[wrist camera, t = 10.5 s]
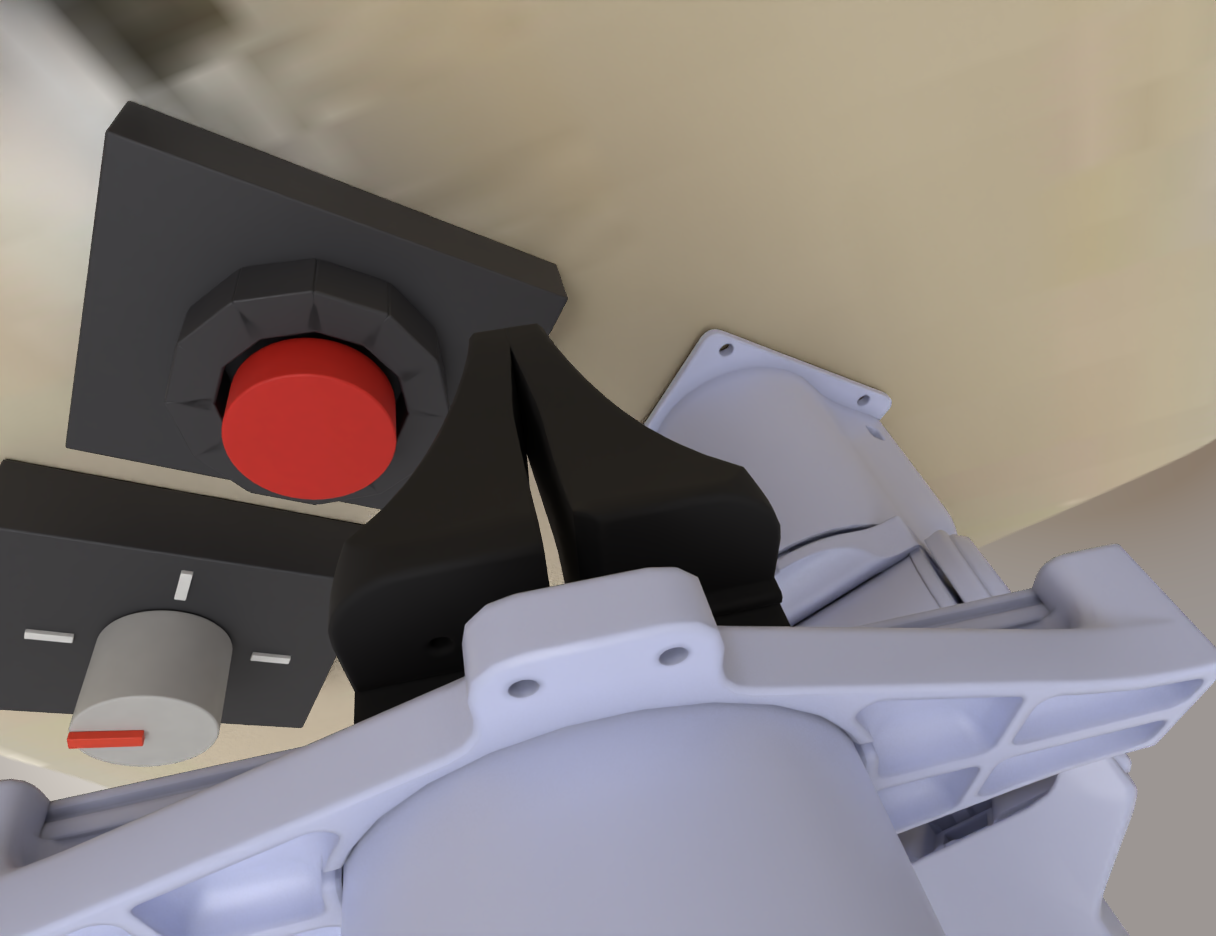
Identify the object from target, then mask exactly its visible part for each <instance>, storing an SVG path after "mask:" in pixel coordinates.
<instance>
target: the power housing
mask: <svg viewBox="0 0 1216 936" xmlns="http://www.w3.org/2000/svg"><path fill="white" fill-rule="evenodd" d="M567 300H568V297H567V294H566V292H565V289H564V286H563V283H562V280H561V277H560V274H559V272H558V269H557V266H556V265H555V264H553V263H550V262H548V261H545V260H542V259H540V258H537V257H535V256H532V255H529V254H527V253H524V252H522V251H519V250H516V249H514V248H511V247H509V246H506V245H503V244H501V243H498V242H496V241H493V240H490V239H488V238H485V237H483V236H480V235H477V234H475V233H472V232H469V231H467V230H464V229H462V228H459V227H456V226H454V225H451V224H449V223H446V222H443V221H441V220H438V219H436V218H433V217H430V216H428V215H425V214H423V213H420V212H417V211H415V210H412V209H410V208H407V207H404V206H402V205H399V204H396V203H394V202H391V201H389V200H386V199H383V198H381V197H378V196H376V195H373V194H370V193H368V192H365V191H363V190H360V189H357V188H355V187H352V186H350V185H347V184H344V183H342V182H339V181H337V180H334V179H331V178H329V177H326V176H323V175H321V174H318V173H316V172H313V171H310V170H308V169H305V168H303V167H300V166H297V165H295V164H292V163H290V162H287V161H284V160H282V159H279V158H277V157H274V156H271V155H269V154H266V153H263V152H261V151H258V150H256V149H253V148H250V147H248V146H245V145H243V144H240V143H237V142H235V141H232V140H230V139H227V138H224V137H222V136H219V135H217V134H214V133H211V132H209V131H206V130H204V129H201V128H198V127H196V126H193V125H190V124H188V123H185V122H183V121H180V120H177V119H175V118H172V117H170V116H167V115H164V114H162V113H159V112H157V111H154V110H151V109H149V108H146V107H144V106H141V105H138V104H136V103H133V102H131V101H128V102H127V103H126V104H125V106H124V107H123V109H122V110H121V111H120V113H119V114H118V115H117V117H116V118H115V120H114V121H113V122H112V124H111V125H110V127H109V128H108V129H107V131H106V133H105V140H104V148H103V156H102V164H101V172H100V179H99V187H98V195H97V203H96V211H95V219H94V226H93V234H92V242H91V250H90V258H89V266H88V273H87V281H86V289H85V297H84V305H83V312H82V320H81V328H80V336H79V344H78V352H77V359H76V367H75V375H74V383H73V391H72V399H71V406H70V414H69V422H68V430H67V438H66V448H70V449H75V450H80V451H85V452H90V453H95V454H100V455H105V456H110V457H116V458H121V459H126V460H131V461H136V462H141V463H146V464H151V465H156V466H161V467H167V468H172V469H177V470H182V471H187V472H192V473H197V474H202V475H207V476H213V477H218V478H223V479H228V480H231V481H233V482H234V483H236V484H237V485H239V486H241V487H242V488H244V489H245V490H247V491H250V492H251V493H255V494H260V495H266V496H271V497H276V498H281V499H287V500H292V501H297V502H302V503H308V504H313V505H316V504H324V503H330V502H336V501H340V502H345V503H351V504H356V505H361V506H366V507H371V508H376V509H381V510H382V509H383V508H384V507H385V506H386V504H387V503H388V502H389V501H390V500H391V499H392V498H393V497H394V496H395V494H396V493H397V492H398V491H399V490H400V489H401V488H402V487H403V485H404V484H405V483H406V482H407V480H408V479H409V478H410V476H411V475H412V474H413V472H414V471H415V469H416V468H417V466H418V465H419V464H420V462H421V461H422V459H423V458H424V456H425V455H426V453H427V452H428V450H429V448H430V447H431V445H432V443H433V442H434V440H435V438H436V436H437V434H438V432H439V430H440V429H441V427H442V425H443V423H444V420H445V418H446V416H447V414H448V411H449V409H450V407H451V405H452V402H453V400H454V397H455V395H456V392H457V389H458V386H459V383H460V380H461V377H462V374H463V371H464V367H465V363H466V359H467V354H468V348H469V338H470V337H471V336H472V335H473V333H477V332H483V331H490V330H496V329H503V328H509V327H516V326H522V325H529V324H535V323H537V324H538V325H540V326H541V327H543V329H544V331H545V332H546V334H547V335H548V336H549V334H550V332H551V330H552V328H553V326H554V325H555V323H556V321H557V319H558V317H559V315H560V313H561V311H562V309H563V307H564V306H565V304H566V302H567ZM293 338H319V339H327V340H331V341H335V342H339V343H341V344H344V345H347V346H349V347H351V348H354V349H356V350H358V351H359V352H361V353H363V354H364V355H366V356H367V357H368V358H370V359H371V360H372V361H373V362H374V363H375V364H376V365H377V366H378V367H379V368H380V369H381V370H382V371H383V372H384V374H385V375H386V376H387V378H388V380H389V382H390V384H391V386H392V389H393V391H394V396H395V404H396V449H395V453H394V456H393V459H392V460H391V462H390V464H389V466H388V467H387V469H386V470H385V471H384V473H383V474H382V475H381V476H380V477H379V478H378V479H376V480H375V481H374V482H372V483H371V484H370V485H368V486H366V487H365V488H363V489H361V490H359V491H356V492H354V493H351V494H348V495H345V496H341V497H336V498H330V499H318V500H311V499H299V498H292V497H288V496H284V495H280V494H277V493H274V492H271V491H269V490H267V489H264V488H262V487H260V486H259V485H257V484H255V483H254V482H252V481H251V480H249V479H248V478H247V477H245V476H244V475H243V474H242V473H241V472H240V471H239V470H238V469H237V468H236V467H235V466H234V464H233V463H232V462H231V460H230V458H229V457H228V455H227V453H226V450H225V448H224V445H223V441H222V432H221V428H222V422H223V417H224V413H225V408H226V404H227V400H228V396H229V391H230V387H231V383H232V380H233V378H234V375H235V373H236V372H237V370H238V368H239V367H240V366H241V364H242V363H243V362H244V361H245V360H246V359H247V358H248V357H249V356H251V355H252V354H253V353H255V352H256V351H258V350H260V349H261V348H263V347H265V346H267V345H270V344H272V343H275V342H278V341H282V340H287V339H293Z"/></svg>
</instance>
